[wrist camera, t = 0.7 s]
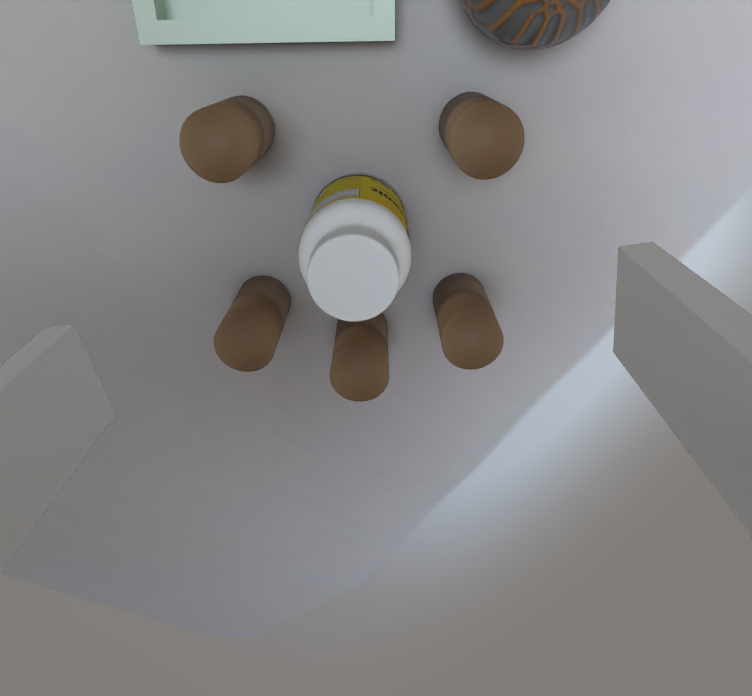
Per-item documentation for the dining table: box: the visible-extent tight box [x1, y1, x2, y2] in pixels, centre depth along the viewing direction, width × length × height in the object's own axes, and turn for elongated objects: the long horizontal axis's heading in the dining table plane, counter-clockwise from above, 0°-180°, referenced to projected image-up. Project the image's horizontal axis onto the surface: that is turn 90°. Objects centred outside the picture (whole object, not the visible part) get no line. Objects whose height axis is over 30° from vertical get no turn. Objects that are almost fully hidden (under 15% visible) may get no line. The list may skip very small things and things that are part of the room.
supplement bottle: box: [298, 174, 412, 322], centre depth 28 cm, size 5×5×10 cm
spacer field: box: [180, 92, 524, 402], centre depth 30 cm, size 15×15×6 cm
